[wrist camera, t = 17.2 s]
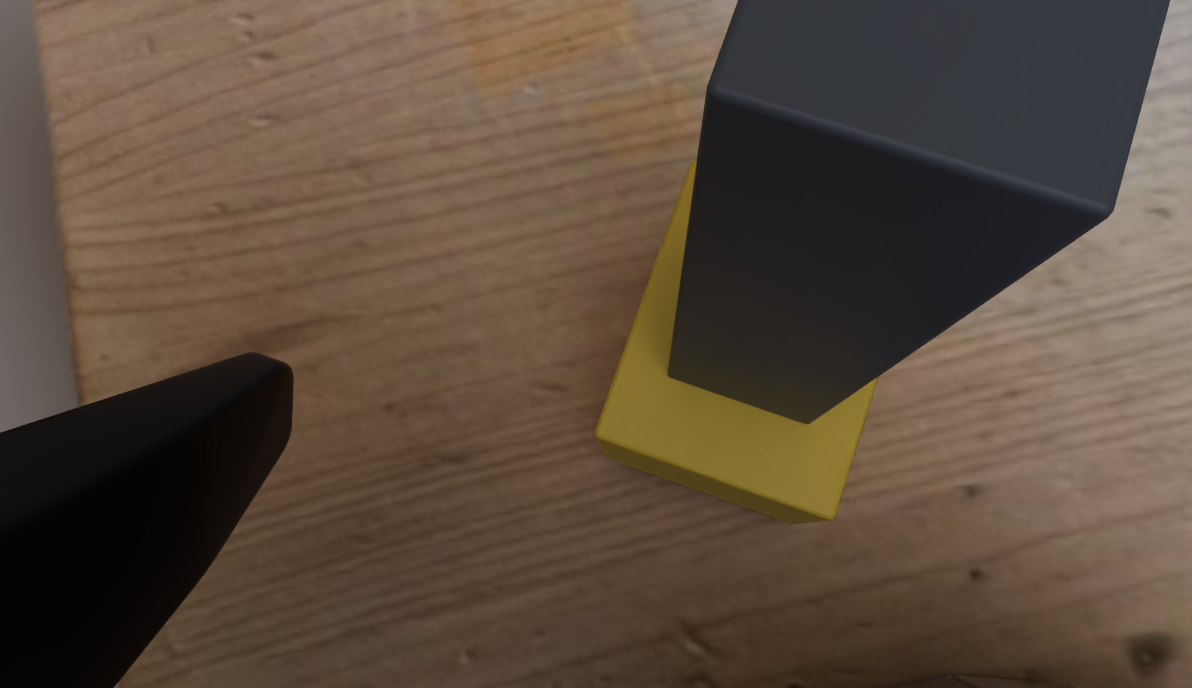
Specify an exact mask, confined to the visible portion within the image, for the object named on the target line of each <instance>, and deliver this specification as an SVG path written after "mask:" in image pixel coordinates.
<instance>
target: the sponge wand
mask: <svg viewBox="0 0 1192 688" xmlns="http://www.w3.org/2000/svg"><path fill="white" fill-rule="evenodd" d="M1169 3H1170V0H738V2H737V5H736V8H735V11H734V13H733V16H732V19H731V22H730V24H729V27H728V30H727V33H726V36H725V38H724V41H723V44H722V47H721V49H720V52H719V55H718V58H717V61H716V63H715V66H714V69H713V72H712V74H711V77H710V80H709V83H708V86H707V90H706V98H705V105H704V112H703V119H702V127H701V134H700V141H699V148H698V155H697V161H693V162H692V163H691V164H690V166H689V169H688V172H687V175H686V177H685V180H684V183H683V186H682V189H681V191H680V194H679V197H678V200H677V202H676V205H675V208H674V211H673V214H672V216H671V219H670V222H669V225H668V228H667V230H666V233H665V236H664V239H663V242H662V244H661V247H660V250H659V253H658V256H657V258H656V261H655V264H654V267H653V270H652V272H651V275H650V278H649V281H648V283H647V286H646V289H645V292H644V295H643V297H642V300H641V303H640V306H639V309H638V311H637V314H636V317H635V320H634V323H633V325H632V328H631V331H630V334H629V337H628V339H627V342H626V345H625V348H624V351H623V353H622V356H621V359H620V362H619V365H618V367H617V370H616V373H615V376H614V378H613V381H612V384H611V387H610V390H609V392H608V395H607V398H606V401H605V404H604V406H603V409H602V412H601V415H600V418H599V420H598V423H597V426H596V429H595V432H594V434H595V438H596V440H597V442H598V444H599V446H600V448H601V450H602V452H603V454H604V456H605V457H606V458H607V459H610V460H612V461H615V462H618V463H621V464H624V465H626V466H629V467H632V468H635V469H638V470H641V471H643V472H646V473H649V474H652V475H655V476H657V477H660V478H663V479H666V480H669V481H672V482H674V483H677V484H680V485H683V486H686V487H688V488H691V489H694V490H697V491H700V492H702V493H705V494H708V495H711V496H714V497H717V498H719V499H722V500H725V501H728V502H731V503H733V504H736V505H739V506H742V507H745V508H748V509H750V510H753V511H756V512H759V513H762V514H764V515H767V516H770V517H773V518H776V519H778V520H781V521H784V522H787V523H790V524H797V523H808V522H818V521H828V520H833V519H834V518H835V516H836V512H837V509H838V506H839V503H840V499H841V496H842V493H843V490H844V486H845V483H846V480H847V476H848V473H849V470H850V467H851V463H852V460H853V457H854V454H855V450H856V447H857V444H858V441H859V437H860V434H861V431H862V428H863V424H864V421H865V418H866V415H867V411H868V408H869V405H870V401H871V398H872V395H873V392H874V388H875V385H876V382H877V379H878V376H880V375H881V374H883V373H884V372H886V371H887V370H888V369H890V368H891V367H893V366H894V365H896V364H897V363H899V362H900V361H901V360H903V359H904V358H906V357H907V356H909V355H910V354H912V353H913V352H914V351H916V350H917V349H919V348H920V347H922V346H923V345H925V344H926V343H927V342H929V341H930V340H932V339H933V338H935V337H936V336H938V335H939V334H940V333H942V332H943V331H945V330H946V329H948V328H949V327H951V326H952V325H953V324H955V323H956V322H958V321H959V320H961V319H962V318H964V317H965V316H966V315H968V314H969V313H971V312H972V311H974V310H975V309H977V308H978V307H979V306H981V305H982V304H984V303H985V302H987V301H988V300H990V299H991V298H992V297H994V296H995V295H997V294H998V293H1000V292H1001V291H1003V290H1004V289H1005V288H1007V287H1008V286H1010V285H1011V284H1013V283H1014V282H1016V281H1017V280H1018V279H1020V278H1021V277H1023V276H1024V275H1026V274H1027V273H1029V272H1030V271H1031V270H1033V269H1034V268H1036V267H1037V266H1039V265H1040V264H1042V263H1043V262H1044V261H1046V260H1047V259H1049V258H1050V257H1052V256H1053V255H1055V254H1056V253H1057V252H1059V251H1060V250H1062V249H1063V248H1065V247H1066V246H1068V245H1069V244H1070V243H1072V242H1073V241H1075V240H1076V239H1078V238H1079V237H1081V236H1082V235H1083V234H1085V233H1086V232H1088V231H1089V230H1091V229H1092V228H1094V227H1095V226H1097V225H1098V224H1099V223H1101V222H1102V221H1104V220H1105V219H1107V218H1108V217H1109V216H1110V214H1111V213H1112V212H1113V211H1114V207H1115V203H1116V200H1117V196H1118V192H1119V188H1120V185H1121V181H1122V177H1123V174H1124V170H1125V166H1126V163H1127V159H1128V155H1129V151H1130V148H1131V144H1132V140H1133V137H1134V133H1135V129H1136V125H1137V122H1138V118H1139V114H1140V111H1141V107H1142V103H1143V99H1144V96H1145V92H1146V88H1147V85H1148V81H1149V77H1150V73H1151V70H1152V66H1153V62H1154V59H1155V55H1156V51H1157V48H1158V44H1159V40H1160V36H1161V33H1162V29H1163V25H1164V22H1165V18H1166V14H1167V10H1168V7H1169Z"/></svg>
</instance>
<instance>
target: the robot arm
mask: <svg viewBox="0 0 1192 688" xmlns="http://www.w3.org/2000/svg"><path fill="white" fill-rule="evenodd" d="M293 380H294V379H293V372H292V369H291V367H290V366H289V365H288V364H287V363H285V362H282V361H279V360H277V359H274V358H271V357H268V356H265V355H263V354H260V353H255V352H250V353H245V354H242V355H239V356H236V357H233V358H230V359H226V360H223V361H220V362H217V363H214V364H211V365H208V366H205V367H202V368H199V369H196V370H192V371H189V372H186V373H183V374H180V375H177V376H174V377H171V378H168V379H165V380H162V381H159V382H155V383H152V384H149V385H146V386H143V387H140V388H137V389H134V390H131V391H128V392H125V393H121V394H118V395H115V396H112V397H109V398H106V399H103V400H100V401H97V402H94V403H91V404H88V405H84V406H81V407H78V408H75V409H72V410H69V411H66V412H63V413H60V414H57V415H54V416H50V417H47V418H44V419H41V420H38V421H35V422H32V423H29V424H26V425H23V426H20V427H17V428H13V429H11V430H8V431H4V432H1V433H0V688H114V687H115V685H116V684H117V683H118V682H119V681H120V679H121V678H122V677H123V676H124V674H125V673H126V672H127V671H128V669H129V668H130V667H131V666H132V664H133V663H134V662H135V661H136V659H137V658H138V657H139V656H140V654H141V653H142V652H143V651H144V649H145V648H146V647H147V646H148V644H149V643H150V642H151V641H152V639H153V638H154V637H155V636H156V634H157V633H158V632H159V631H160V630H161V628H162V627H163V626H164V625H165V623H166V622H167V621H168V620H169V618H170V617H171V616H172V615H173V613H174V612H175V611H176V610H177V608H178V607H179V606H180V605H181V603H182V602H183V601H184V600H185V598H186V597H187V596H188V595H189V593H190V592H191V591H192V590H193V588H194V587H195V586H196V584H197V583H198V582H199V580H200V579H201V578H202V576H203V575H204V574H205V573H206V571H207V570H208V568H209V567H210V565H211V564H212V562H213V561H214V559H215V558H216V556H217V555H218V553H219V552H220V550H221V549H222V547H223V546H224V544H225V542H226V541H227V539H228V538H229V536H230V535H231V533H232V531H233V530H234V528H235V527H236V525H237V524H238V522H239V520H240V519H241V517H242V516H243V514H244V512H245V511H246V509H247V508H248V506H249V505H250V503H251V501H252V500H253V498H254V497H255V495H256V494H257V492H258V490H259V489H260V487H261V486H262V484H263V483H264V481H265V479H266V478H267V476H268V475H269V473H270V471H271V470H272V468H273V467H274V465H275V464H276V462H277V460H278V459H279V457H280V456H281V454H282V453H283V451H284V449H285V447H286V445H287V443H288V440H289V437H290V434H291V430H292V411H293Z"/></svg>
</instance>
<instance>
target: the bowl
mask: <svg viewBox="0 0 1192 688" xmlns="http://www.w3.org/2000/svg"><path fill="white" fill-rule="evenodd" d="M899 688H1076V687H1073V686H1070V685H1064V684H1061V683H1052V682H1038V681H1025V680H1012V679H998V678H985V677H972V676H958V675H953V676H951V677H948V676H942V677H938V678H934V679H930V680H926V681H922V682H919V683H915V684H911V685H907V686H903V687H899Z"/></svg>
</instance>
